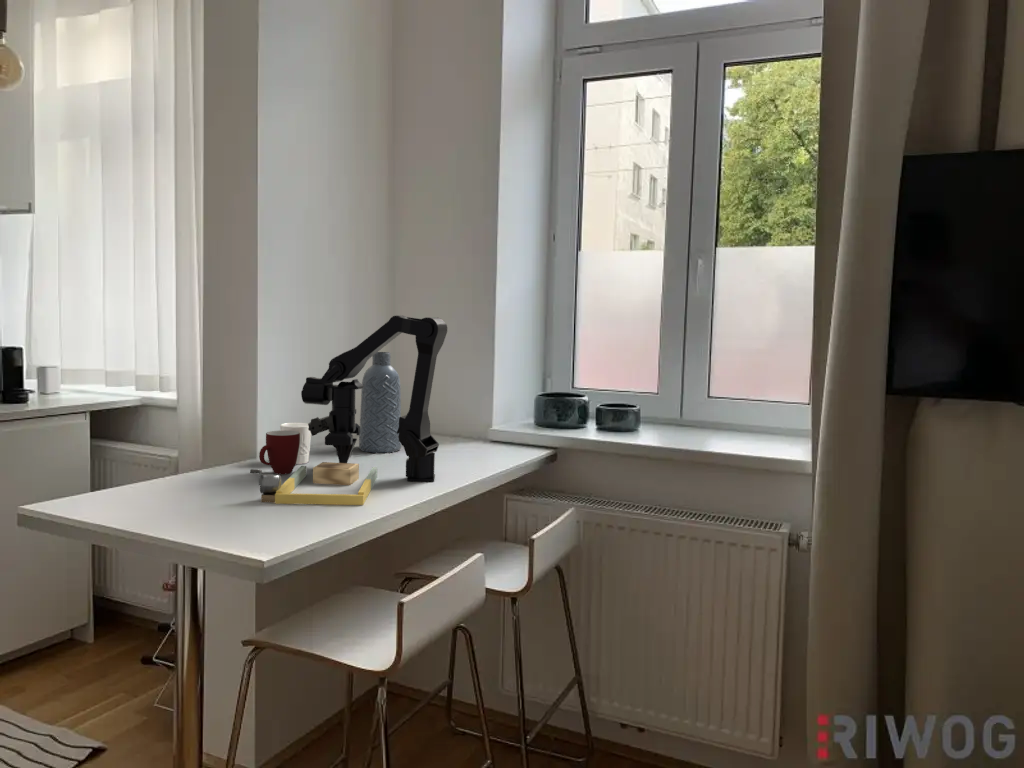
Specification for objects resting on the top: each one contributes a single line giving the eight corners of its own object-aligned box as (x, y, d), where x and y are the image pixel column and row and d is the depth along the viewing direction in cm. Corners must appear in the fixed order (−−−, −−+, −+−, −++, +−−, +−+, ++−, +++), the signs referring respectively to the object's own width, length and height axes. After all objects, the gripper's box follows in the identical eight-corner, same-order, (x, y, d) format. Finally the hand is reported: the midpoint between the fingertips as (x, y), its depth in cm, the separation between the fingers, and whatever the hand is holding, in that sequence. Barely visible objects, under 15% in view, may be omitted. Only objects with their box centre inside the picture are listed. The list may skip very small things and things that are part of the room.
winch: (281, 498, 179) (281, 467, 179) (277, 502, 175) (277, 471, 175) (253, 497, 179) (253, 467, 178) (248, 502, 175) (248, 471, 174)
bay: (377, 477, 203) (377, 467, 203) (363, 505, 175) (363, 493, 175) (301, 475, 202) (301, 465, 202) (274, 503, 174) (275, 491, 174)
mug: (274, 479, 197) (274, 438, 196) (250, 475, 201) (250, 434, 200) (306, 472, 206) (306, 432, 205) (283, 468, 210) (283, 429, 209)
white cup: (309, 458, 224) (309, 422, 223) (312, 464, 216) (312, 426, 215) (279, 459, 221) (279, 422, 220) (280, 465, 214) (281, 427, 213)
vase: (350, 449, 239) (351, 351, 236) (379, 444, 249) (380, 350, 246) (380, 455, 232) (382, 354, 230) (409, 449, 242) (411, 353, 239)
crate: (358, 480, 201) (358, 463, 200) (350, 486, 194) (350, 468, 193) (322, 478, 202) (322, 461, 201) (312, 484, 195) (313, 467, 194)
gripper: (317, 401, 215) (317, 460, 217) (303, 410, 197) (303, 475, 198) (360, 402, 216) (360, 461, 218) (350, 411, 198) (350, 475, 199)
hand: (343, 467), depth 208 cm, fingers closed
